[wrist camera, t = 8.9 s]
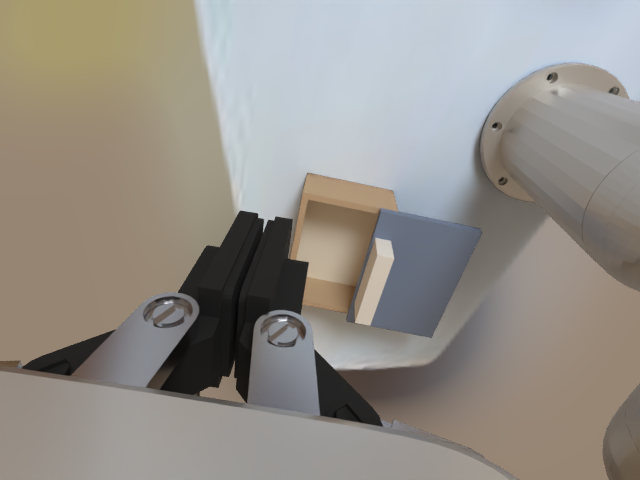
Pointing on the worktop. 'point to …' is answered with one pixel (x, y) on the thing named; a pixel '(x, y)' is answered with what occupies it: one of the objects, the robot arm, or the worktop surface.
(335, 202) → the cabinet body box
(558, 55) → the worktop surface
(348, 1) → the worktop surface
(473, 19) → the worktop surface
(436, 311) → the cabinet door panel
